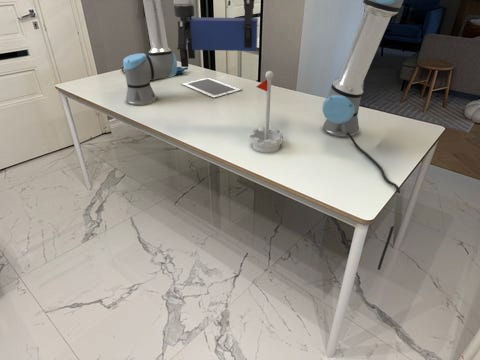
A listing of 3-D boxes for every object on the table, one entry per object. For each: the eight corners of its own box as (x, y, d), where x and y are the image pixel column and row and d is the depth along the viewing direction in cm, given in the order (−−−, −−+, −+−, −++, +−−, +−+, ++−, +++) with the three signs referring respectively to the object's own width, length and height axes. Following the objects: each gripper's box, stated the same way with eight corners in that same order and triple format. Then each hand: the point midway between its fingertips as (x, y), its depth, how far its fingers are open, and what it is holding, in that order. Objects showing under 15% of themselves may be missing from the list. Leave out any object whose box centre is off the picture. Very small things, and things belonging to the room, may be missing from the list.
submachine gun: (173, 61, 239) (192, 66, 223) (173, 67, 241) (193, 72, 225) (127, 70, 221) (144, 76, 204) (128, 76, 223) (146, 83, 206)
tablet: (181, 84, 205) (181, 83, 205) (208, 77, 216) (208, 77, 216) (213, 98, 185) (213, 97, 185) (241, 90, 196) (241, 89, 196)
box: (256, 46, 138) (257, 18, 132) (256, 51, 132) (256, 20, 126) (195, 45, 140) (193, 17, 134) (192, 49, 133) (190, 20, 128)
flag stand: (273, 136, 144) (277, 64, 128) (288, 150, 134) (294, 73, 118) (245, 141, 141) (245, 68, 124) (257, 156, 130) (260, 77, 114)
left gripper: (181, 1, 139) (186, 55, 151) (165, 8, 118) (172, 70, 130) (199, 1, 138) (202, 55, 150) (186, 8, 118) (191, 70, 129)
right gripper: (241, -24, 130) (241, 39, 143) (236, -21, 113) (236, 50, 126) (260, -24, 130) (259, 40, 142) (258, -21, 113) (257, 51, 125)
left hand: (188, 62), depth 140 cm, fingers open, 13 cm apart
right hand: (248, 45), depth 134 cm, fingers closed on box, 7 cm apart
